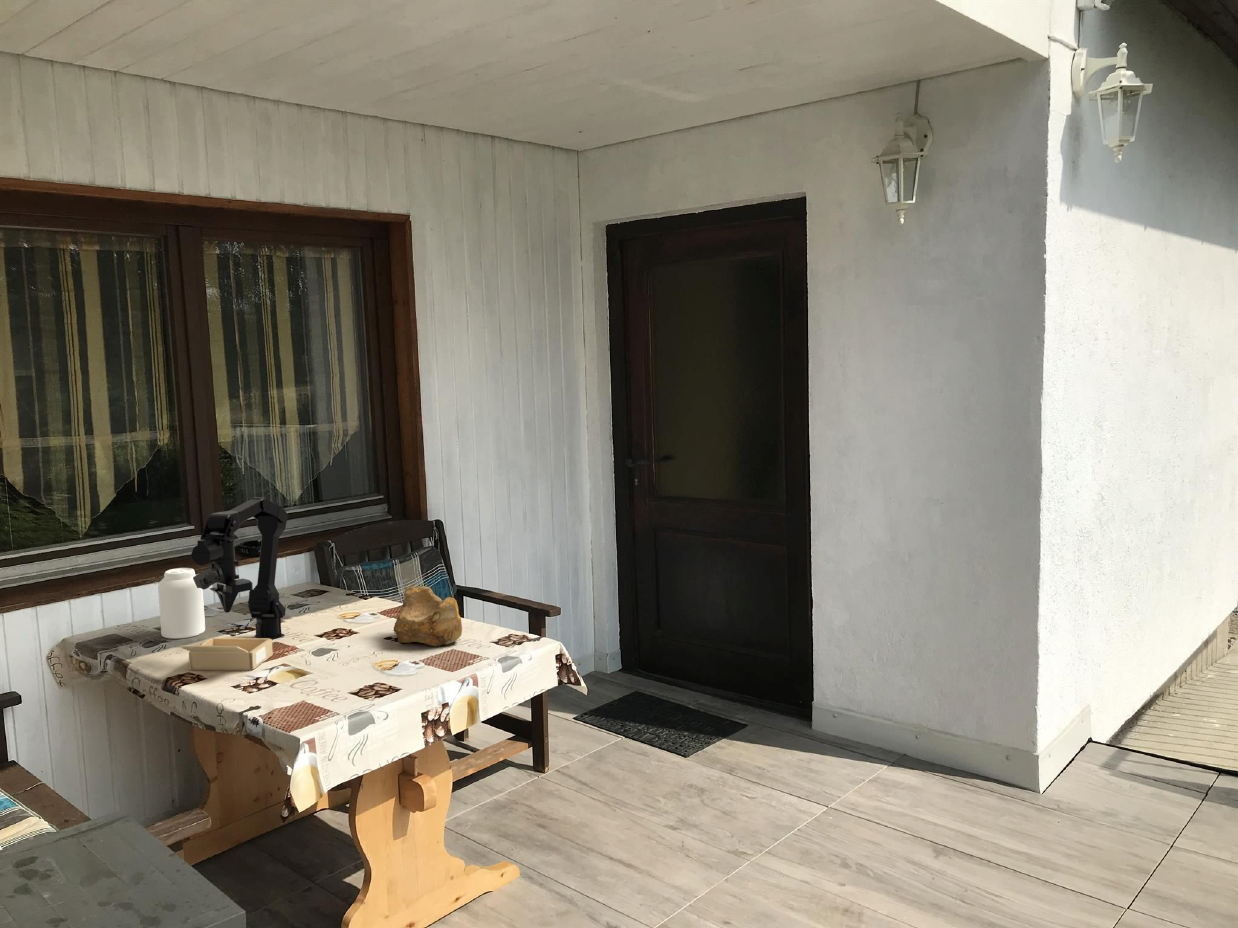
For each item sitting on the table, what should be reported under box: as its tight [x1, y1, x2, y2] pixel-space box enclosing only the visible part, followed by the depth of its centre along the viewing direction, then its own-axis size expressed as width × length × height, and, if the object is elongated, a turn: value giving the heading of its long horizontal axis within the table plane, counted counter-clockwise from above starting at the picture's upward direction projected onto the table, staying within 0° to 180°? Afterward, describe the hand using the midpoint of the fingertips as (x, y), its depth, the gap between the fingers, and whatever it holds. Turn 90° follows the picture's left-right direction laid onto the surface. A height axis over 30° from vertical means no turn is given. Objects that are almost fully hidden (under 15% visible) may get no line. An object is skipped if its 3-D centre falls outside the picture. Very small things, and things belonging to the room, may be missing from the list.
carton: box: [188, 637, 274, 671], centre depth 275 cm, size 14×18×5 cm
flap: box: [178, 645, 248, 653], centre depth 264 cm, size 1×16×7 cm
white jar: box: [157, 567, 206, 640], centre depth 303 cm, size 12×12×20 cm
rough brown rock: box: [393, 585, 463, 648], centre depth 292 cm, size 23×16×15 cm
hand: (227, 612), depth 278 cm, fingers closed
